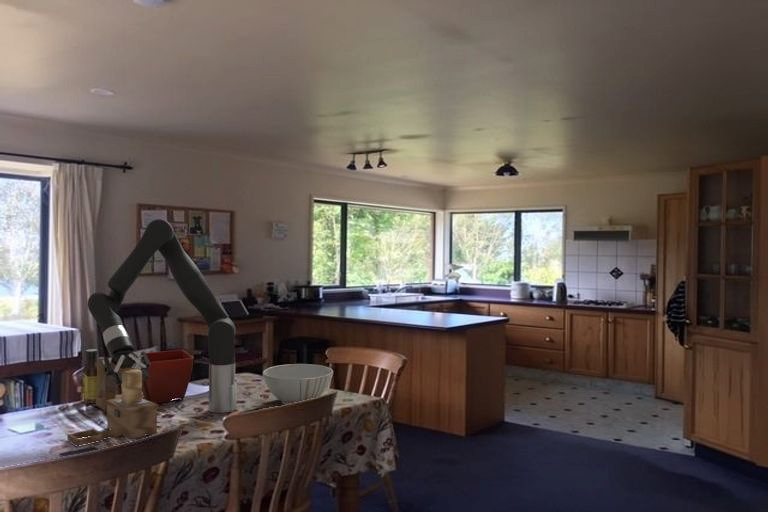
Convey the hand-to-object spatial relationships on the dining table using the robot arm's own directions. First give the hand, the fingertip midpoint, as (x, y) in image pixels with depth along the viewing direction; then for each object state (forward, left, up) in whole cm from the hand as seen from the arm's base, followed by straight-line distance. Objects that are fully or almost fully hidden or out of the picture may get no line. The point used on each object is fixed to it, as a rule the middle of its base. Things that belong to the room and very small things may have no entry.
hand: (133, 381), depth 198 cm
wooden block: (+22, -26, -16) cm, 38 cm away
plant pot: (+6, -40, -16) cm, 44 cm away
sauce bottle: (+31, -34, -16) cm, 49 cm away
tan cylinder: (+1, -1, -7) cm, 7 cm away
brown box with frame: (+6, +4, -16) cm, 18 cm away
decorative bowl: (-47, -38, -16) cm, 63 cm away
